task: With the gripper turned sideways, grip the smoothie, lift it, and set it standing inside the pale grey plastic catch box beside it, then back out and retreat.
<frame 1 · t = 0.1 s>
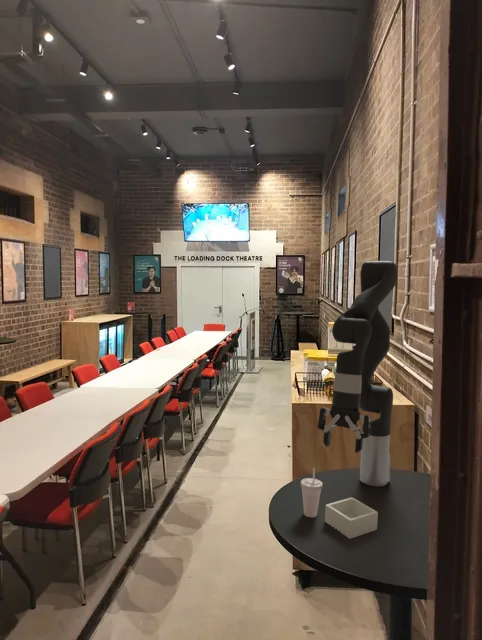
hand: (342, 449, 130), 22 cm above the table, tool pointing down, fingers open, 8 cm apart
smoothie: (310, 514, 139), on the table
catch box: (350, 525, 133), on the table
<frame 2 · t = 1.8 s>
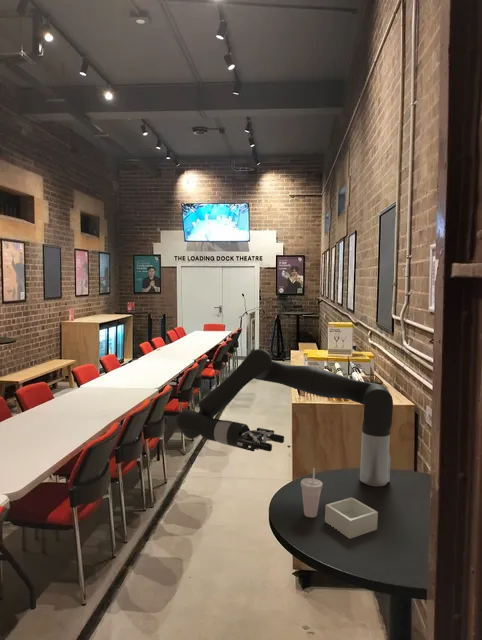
hand: (277, 443, 142), 19 cm above the table, tool horizontal, fingers open, 8 cm apart
nothing on the table moved.
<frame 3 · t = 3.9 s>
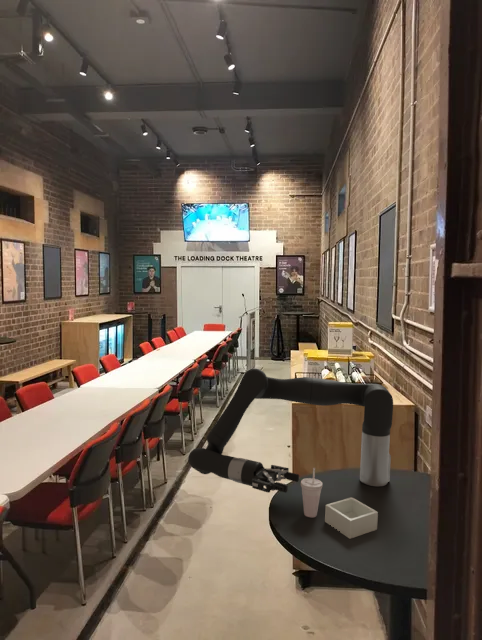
hand: (293, 483, 141), 8 cm above the table, tool horizontal, fingers open, 8 cm apart
nothing on the table moved.
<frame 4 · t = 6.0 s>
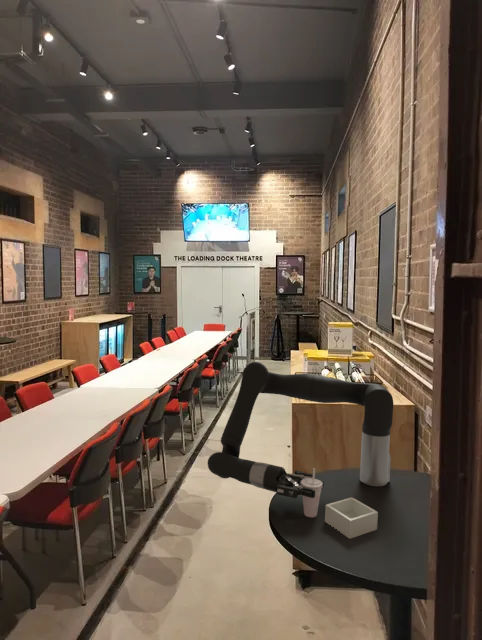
hand: (319, 489, 137), 8 cm above the table, tool horizontal, fingers closed on smoothie, 6 cm apart
smoothie: (310, 514, 139), on the table, touching gripper
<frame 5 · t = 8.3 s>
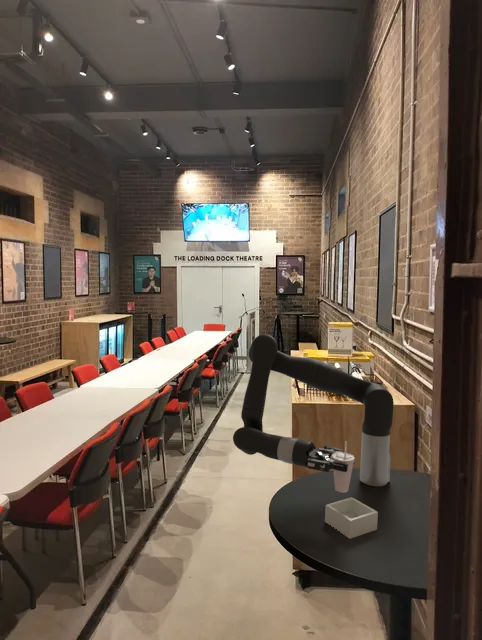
hand: (351, 463, 131), 18 cm above the table, tool horizontal, fingers closed on smoothie, 6 cm apart
smoothie: (341, 490, 133), point 9 cm above the table, touching gripper
when the fingers open (10 cm above the table, at t = 11.0 s): smoothie drops 1 cm, resting on catch box.
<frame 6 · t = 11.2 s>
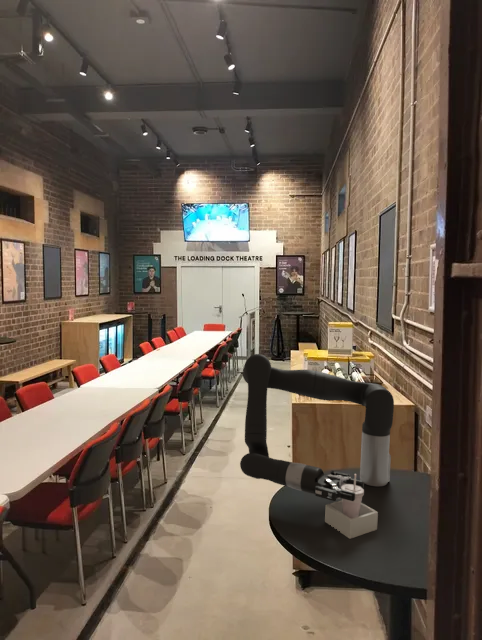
hand: (359, 491, 131), 10 cm above the table, tool horizontal, fingers open, 8 cm apart
smoothie: (350, 522, 133), point 1 cm above the table, touching catch box
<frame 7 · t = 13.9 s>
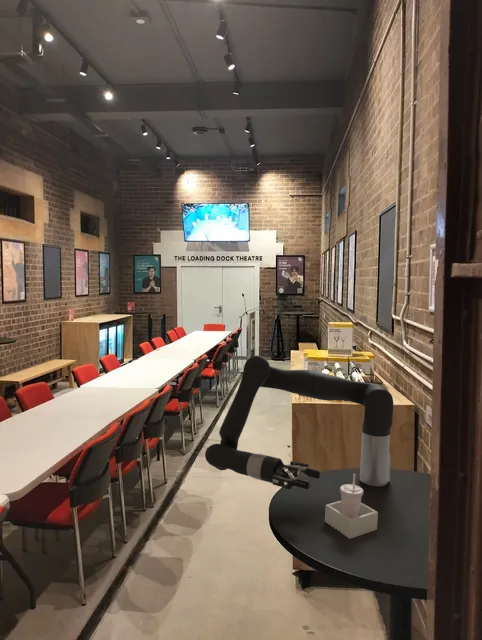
hand: (314, 480, 137), 11 cm above the table, tool horizontal, fingers open, 8 cm apart
nothing on the table moved.
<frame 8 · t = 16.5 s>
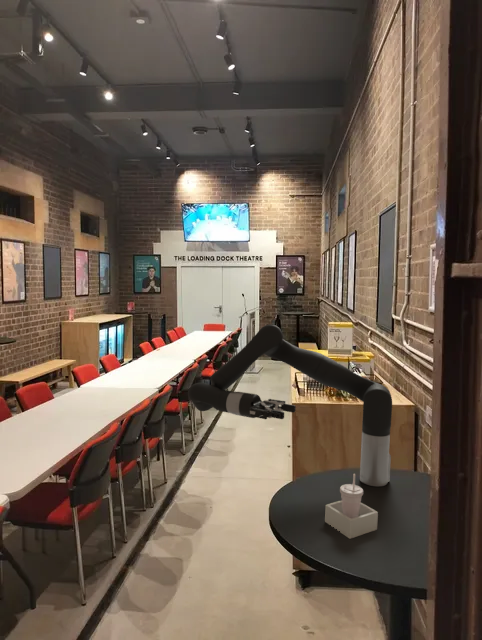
hand: (289, 412, 144), 28 cm above the table, tool horizontal, fingers open, 8 cm apart
nothing on the table moved.
at the end: smoothie 0.2 cm off-centre on the catch box, point 0.8 cm above the catch box's base; smoothie tilted 0°; the gripper is holding nothing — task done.
